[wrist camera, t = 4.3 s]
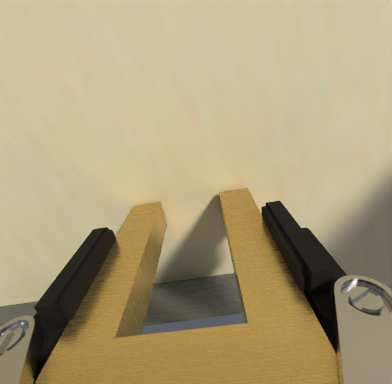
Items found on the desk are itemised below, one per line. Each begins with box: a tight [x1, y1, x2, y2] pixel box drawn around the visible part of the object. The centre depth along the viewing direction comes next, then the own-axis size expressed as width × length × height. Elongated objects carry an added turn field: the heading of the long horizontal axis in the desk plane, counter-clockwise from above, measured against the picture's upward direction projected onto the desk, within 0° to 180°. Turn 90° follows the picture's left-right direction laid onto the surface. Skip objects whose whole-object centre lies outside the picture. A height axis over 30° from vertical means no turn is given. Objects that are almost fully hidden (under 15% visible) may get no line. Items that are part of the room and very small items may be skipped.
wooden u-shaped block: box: [34, 188, 340, 384], centre depth 8 cm, size 7×2×9 cm, turn 100°
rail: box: [0, 274, 245, 335], centre depth 16 cm, size 20×7×3 cm, turn 100°
